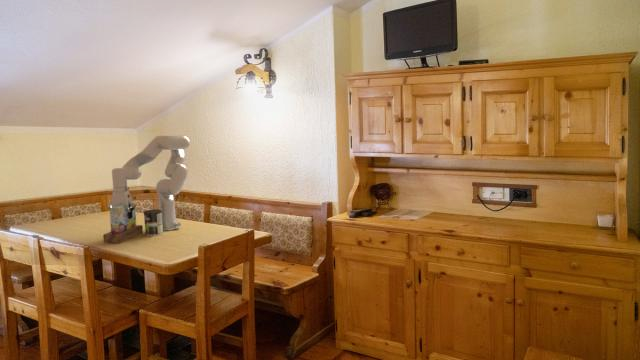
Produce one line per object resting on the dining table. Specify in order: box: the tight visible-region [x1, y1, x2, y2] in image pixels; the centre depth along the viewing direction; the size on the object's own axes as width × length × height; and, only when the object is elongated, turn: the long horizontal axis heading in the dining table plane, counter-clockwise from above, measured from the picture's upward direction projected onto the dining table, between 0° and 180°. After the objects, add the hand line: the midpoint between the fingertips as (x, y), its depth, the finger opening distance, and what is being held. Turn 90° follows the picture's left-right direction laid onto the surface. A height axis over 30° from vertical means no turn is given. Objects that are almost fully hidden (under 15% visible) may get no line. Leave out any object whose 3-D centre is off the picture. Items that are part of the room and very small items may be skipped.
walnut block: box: [102, 224, 144, 245], centre depth 266 cm, size 10×24×5 cm, turn 171°
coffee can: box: [143, 209, 164, 237], centre depth 275 cm, size 10×10×14 cm
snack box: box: [109, 201, 137, 234], centre depth 265 cm, size 21×6×15 cm, turn 177°
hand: (122, 218), depth 265 cm, fingers open, 9 cm apart
